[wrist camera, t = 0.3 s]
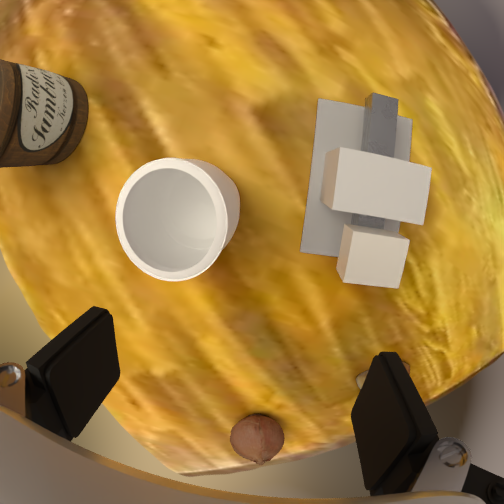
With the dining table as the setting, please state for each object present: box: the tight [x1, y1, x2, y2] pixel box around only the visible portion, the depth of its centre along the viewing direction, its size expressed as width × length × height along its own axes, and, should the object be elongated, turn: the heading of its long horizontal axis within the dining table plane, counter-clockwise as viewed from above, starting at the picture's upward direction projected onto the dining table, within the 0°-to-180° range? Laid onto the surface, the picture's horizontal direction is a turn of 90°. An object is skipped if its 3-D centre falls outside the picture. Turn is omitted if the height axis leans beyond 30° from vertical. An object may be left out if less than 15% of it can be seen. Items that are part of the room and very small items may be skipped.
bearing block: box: [300, 98, 432, 257], centre depth 31 cm, size 20×13×10 cm, turn 174°
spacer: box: [336, 223, 410, 288], centre depth 28 cm, size 5×6×4 cm
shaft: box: [351, 93, 398, 229], centre depth 30 cm, size 20×3×3 cm, turn 174°
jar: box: [116, 158, 240, 281], centre depth 31 cm, size 11×10×15 cm
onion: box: [230, 414, 284, 465], centre depth 44 cm, size 10×9×10 cm
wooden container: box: [0, 60, 88, 168], centre depth 26 cm, size 15×15×22 cm
